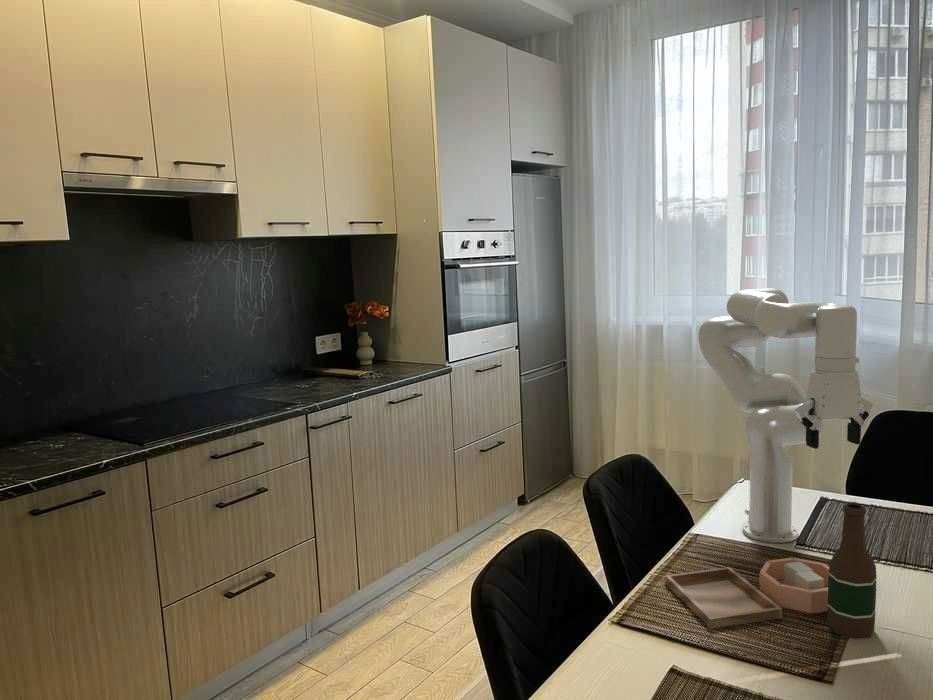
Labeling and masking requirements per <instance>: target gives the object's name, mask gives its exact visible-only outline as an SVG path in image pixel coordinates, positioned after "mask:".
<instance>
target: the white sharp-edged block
mask: <svg viewBox="0 0 933 700" xmlns="http://www.w3.org/2000/svg"><path fill="white" fill-rule="evenodd" d="M795 587H798V588H803V589H808V590H813V589H820V588H824V579H823V578H822V577H820V576H819V575H817V574H816V573H814V572H812V571H811V570H810V571H803V572H797V573H795Z"/></svg>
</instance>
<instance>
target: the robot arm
mask: <svg viewBox="0 0 933 700" xmlns="http://www.w3.org/2000/svg"><path fill="white" fill-rule="evenodd" d="M726 311H727V314H728V315H726V316H718V317H713V318H710V319H708V320H705V321H704V322H703V323H702V324H701V325H700V326H699V329H698V335H697V337H698V345H699V348H700V351H701V354H702V356H703V358H704V359H705V361H706V363H708V365H709V366H710V367H711V368H712V369H713V370H714V372H715V373H716V374H717V375H718V376H719V378H720V379H721V381H722V383H723V384H724V387H725V388H726V390H727V391H728V393H729V395H730V397H731V398H732V399H733V401H734V402H735V404H736V406H737V407H738V408H739V409H740V411H742V412H744V413H747V414H748V415H747V417H746V419H745V432H746V438H747V443H748V452H749V453H748V454H749V508H745V510H744V513H745V514H746V515H747V516H748V520H747V521H746V522H745V523H743V524H742V532H743V534H745V536H747V537H749V538H750V539H752V540H756V541H759V542H764V543H772V544H773V543H774V544H783V543H789V542H793V541H795V540H797V539H798V538H799V530H798V529H797V528H796V527H795V526H794V525H792V508H793V507H792V506H793V505H792V504H793V501H792V500H793V498H792V497H793V464H792V461H791V459H790V457H789V455H788V454H787V453H786V452H785V450H784V447H788V446H794V445H804V444H806V446H807V447H810V448H813V449H814V450H815V449H819V445H820V443H819V442H820V437H821V436H822V435H823V430H824V424H823V421H834V420H835V421H836V420H845V419H848V420H849V422H848V423H847V427H846V428H847V430H846V431H847V434H846V435H847V436H846V440H847V442H850V443H852V444H855V445H861V438H862V437H861V436H862V426H864V424H865V421H866V420H867V419H868V418H869V416H870V412H871V410H872V408H873V405H874V404H873V402H871V401H869V400H867V399H865V398H862V394H861V392H862V391H861V383H860V377H859V372H858V370H856V368H857V367H856V365H859V364H860V358H859V357H856V356H857V332H858V331H857V329H858V328H857V327H858V325H857V324H858V311H857V309H856V308H855V306H852V305H849V304H847V305H846V304H836V303H833V302H830V301H807V302H806V301H805V302H804V301H803V302H793V303H790V302H789V299H788V296H787V294H785V292H784V291H783V290H782V289H781V290H780V289H778V288H773V287H768V288H767V287H766V288H752V289H741V290H739V291H737V292H735V293H733V294H732V295H730V297H729V298H728V300H727V302H726ZM770 337H772V338H779V339H784V340H785V339H788V340H789V339H798V338H799V339H800V338H814V337H815V341H814V342H815V344H814V345H815V349H814V351H815V352H814V354H815V355H814V370H811V371H810V374H809V377H808V383H807V389H806V392H805V391H804V389H803V388H802V386H801V385H800V384H799V382H798V381H797V380H796V378H794V377H793V376H791V375H789V374H786V373H783V372H782V373H781V372H780V373H779V372H778V373H777V372H776V373H774V372H773V373H761V372H758V371H757V369H756V368H755V367H754V365H753V363H752V361H750V359H749V358H747V357H746V356H745V355H744V354H742V353H741V352H738V351H736V350H735V349H737V348H752V347H758V346H762V345H763V344H764V343H766V342H767V341H768V340H769V339H770Z"/></svg>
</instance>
